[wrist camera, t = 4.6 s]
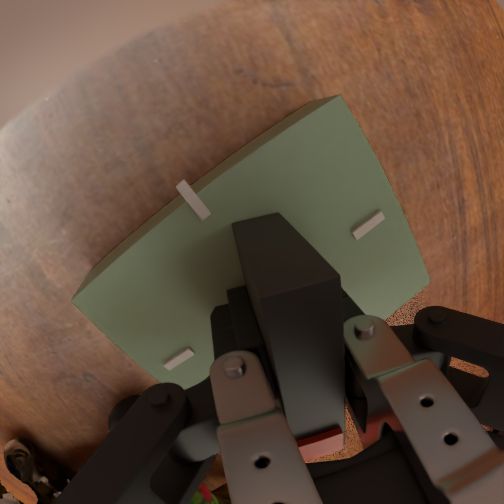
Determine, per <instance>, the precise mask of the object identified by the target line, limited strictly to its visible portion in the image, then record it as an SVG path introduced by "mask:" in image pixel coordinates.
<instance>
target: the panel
mask: <svg viewBox="0 0 504 504" xmlns="http://www.w3.org/2000/svg"><path fill="white" fill-rule="evenodd" d="M175 187H176V189H177V190H178V191H179V192H180V194H179V195H178V196H177V197H176V198H174V199H173V200H172V201H170V202H169V203H168V204H167V205H166V206H164V207H163V208H162V209H161V210H159V211H158V212H157V213H156V214H154V215H153V216H152V217H151V218H150V219H148V220H147V221H146V222H145V223H144V224H142V225H141V226H140V227H139V228H138V229H137V230H135V231H134V232H133V233H132V234H131V235H129V236H128V237H127V238H126V239H125V240H124V241H123V242H121V243H120V244H119V245H118V246H117V247H116V248H115V249H113V250H112V251H111V252H110V253H109V254H108V255H107V256H106V257H104V258H103V259H102V260H101V261H100V262H99V263H98V264H97V265H96V266H95V267H93V268H92V270H91V271H90V272H89V274H88V275H87V277H86V278H85V280H84V281H83V283H82V284H81V286H80V287H79V289H78V290H77V292H76V293H75V295H74V296H73V298H72V299H71V301H72V302H73V304H74V305H75V306H76V307H77V308H78V309H79V310H80V311H81V312H82V313H83V314H84V315H85V316H86V317H87V318H88V319H89V320H90V321H91V322H92V323H93V324H94V325H95V326H96V327H97V328H99V329H100V330H101V331H102V332H103V333H104V334H105V335H106V336H107V337H108V338H109V339H110V340H111V341H112V342H113V343H115V344H116V345H117V346H118V347H119V348H120V349H121V350H122V351H123V352H125V353H126V354H127V355H128V356H129V357H130V358H131V359H133V360H134V361H135V362H136V363H137V364H138V365H140V366H141V367H142V368H143V369H144V370H145V371H147V372H148V373H149V374H150V375H152V376H153V377H154V378H155V379H156V380H158V381H159V382H160V383H165V382H171V383H175V384H178V385H180V386H181V387H182V388H183V389H184V390H185V389H188V388H190V387H192V386H194V385H196V384H198V383H200V382H202V381H203V380H205V379H206V378H207V377H208V376H209V375H210V374H209V370H210V367H211V365H212V363H213V362H214V351H213V342H212V331H211V321H210V315H211V313H212V311H213V309H214V308H215V306H219V305H223V304H228V303H229V302H228V297H227V292H226V290H228V289H232V288H236V287H240V286H244V285H245V281H244V277H243V272H242V268H241V264H240V259H239V255H238V251H237V246H236V242H235V237H234V233H233V229H232V223H234V222H238V221H242V220H247V219H251V218H255V217H259V216H264V215H268V214H272V213H277V212H279V213H280V214H281V215H282V216H283V217H284V218H285V219H286V220H287V221H288V222H289V223H290V224H291V225H292V226H293V227H294V228H295V229H296V230H297V231H298V232H299V233H300V234H301V235H302V236H303V237H304V238H305V239H306V240H307V241H308V242H309V243H310V244H311V245H312V246H313V247H314V248H315V249H316V250H317V251H318V252H319V253H320V255H321V256H322V257H323V258H324V259H325V260H326V261H327V262H328V263H329V264H330V265H331V266H332V267H333V268H334V269H335V270H336V271H337V272H338V273H339V274H340V276H341V287H342V288H343V289H344V291H346V293H347V294H348V295H349V297H351V298H352V299H353V301H354V302H355V303H356V304H357V305H358V306H359V308H360V309H361V310H362V311H363V312H364V313H365V314H366V315H373V316H377V317H379V318H382V319H383V320H385V319H387V318H388V317H389V316H390V315H392V314H393V313H394V312H395V311H397V310H398V309H399V308H400V307H402V306H403V305H404V304H405V303H407V302H408V301H409V300H410V299H411V298H413V297H414V296H415V295H416V294H417V293H419V292H420V291H421V290H422V289H423V288H424V287H426V286H427V285H428V284H429V283H430V282H431V280H430V277H429V274H428V272H427V269H426V266H425V264H424V261H423V258H422V256H421V253H420V251H419V248H418V245H417V243H416V241H415V238H414V236H413V233H412V231H411V228H410V226H409V224H408V221H407V219H406V217H405V215H404V212H403V210H402V208H401V206H400V204H399V201H398V199H397V197H396V195H395V193H394V191H393V189H392V187H391V184H390V182H389V180H388V178H387V176H386V174H385V172H384V170H383V168H382V166H381V164H380V163H379V161H378V159H377V157H376V155H375V153H374V151H373V149H372V147H371V146H370V144H369V142H368V140H367V138H366V137H365V135H364V133H363V131H362V129H361V128H360V126H359V124H358V123H357V121H356V119H355V117H354V116H353V114H352V112H351V111H350V109H349V107H348V106H347V104H346V102H345V101H344V99H343V98H342V96H341V95H340V94H339V95H335V96H331V97H327V98H323V99H319V100H315V101H311V102H309V103H307V104H306V105H304V106H303V107H301V108H300V109H298V110H297V111H295V112H293V113H292V114H290V115H289V116H287V117H286V118H284V119H283V120H281V121H280V122H278V123H277V124H275V125H274V126H272V127H271V128H269V129H268V130H266V131H265V132H264V133H262V134H261V135H259V136H258V137H256V138H255V139H253V140H252V141H251V142H249V143H248V144H246V145H245V146H243V147H242V148H241V149H239V150H238V151H236V152H235V153H234V154H232V155H231V156H229V157H228V158H227V159H225V160H224V161H223V162H221V163H220V164H219V165H217V166H216V167H215V168H213V169H212V170H211V171H209V172H208V173H207V174H205V175H204V176H203V177H201V178H200V179H199V180H197V181H196V182H195V183H193V184H192V185H191V186H189V184H188V183H187V182H186V181H185V179H184V180H183V181H181V182H180V183H179V184H177V185H176V186H175Z"/></svg>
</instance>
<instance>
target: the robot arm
mask: <svg viewBox="0 0 504 504" xmlns="http://www.w3.org/2000/svg"><path fill="white" fill-rule="evenodd" d="M341 289H342V304H343V323H344V347H345V404H346V406H347V408H348V411H349V413H350V415H351V418H352V420H353V422H354V424H355V427H356V429H357V431H358V434H359V436H360V438H361V441H362V445H363V451H361V452H360V453H358V454H357V455H355V456H353V457H351V458H348V459H342V460H334V461H325V462H316V463H305V462H304V459H303V457H302V455H301V452H300V450H299V448H298V445H297V443H296V441H295V438H294V436H293V434H292V431H291V429H290V427H289V424H288V422H287V420H286V417H285V415H284V413H283V411H282V409H281V408H279V407H278V405H277V402H276V400H277V395H276V390H275V386H274V382H273V377H272V373H271V369H270V364H269V360H268V355H267V351H266V347H265V343H264V340H263V337H262V333H261V330H260V327H259V324H258V321H257V318H256V315H255V312H254V309H253V306H252V303H251V300H250V297H249V294H248V291H247V287H246V285H244V286H240V287H236V288H232V289H228V290H226V292H227V297H228V302H229V303H228V304H223V305H219V306H215V308H214V309H213V311H212V313H211V315H210V321H211V331H212V342H213V351H214V362H213V363H212V365H211V367H210V370H209V374H210V375H209V376H208V377H207V378H206V379H205V380H203V381H202V382H200V383H198V384H196V385H194V386H192V387H190V388H188V389H185V390H184V389H183V388H182V387H181V386H180V385H178V384H175V383H171V382H165V383H159V384H156V385H153V386H151V387H149V388H148V389H146V390H145V391H144V392H143V393H142V394H141V395H140V396H139V398H138V399H137V400H136V401H135V402H134V404H133V405H132V406H131V407H130V409H129V410H128V411H127V412H126V414H125V415H124V416H123V417H122V418H121V420H120V421H119V422H118V423H117V425H116V426H115V427H114V428H113V429H112V431H111V432H110V433H109V434H108V436H107V437H106V438H105V439H104V441H103V442H102V443H101V444H100V445H99V447H98V448H97V449H96V450H95V452H94V453H93V454H92V455H91V456H90V458H89V459H88V460H87V461H86V463H85V464H84V465H83V466H82V467H81V469H80V470H79V471H78V472H77V474H76V475H75V476H74V477H73V478H72V480H71V481H70V482H69V483H68V485H67V486H66V487H65V488H64V489H63V491H62V492H61V493H60V494H59V495H58V497H57V498H56V499H55V500H54V502H53V503H52V504H189V503H190V501H191V500H192V498H193V496H194V494H195V493H196V491H197V489H198V488H199V486H200V484H201V482H202V481H203V479H204V477H205V475H206V474H207V472H208V470H209V468H210V466H211V465H212V463H213V461H214V459H215V455H216V454H217V453H219V452H220V454H221V458H222V463H223V468H224V472H225V477H226V482H227V486H228V490H229V495H230V499H231V503H232V504H504V435H501V434H497V433H493V432H489V431H485V429H484V428H483V426H482V425H481V424H483V425H485V426H488V427H491V428H494V429H496V430H499V431H502V432H504V324H501V323H498V322H494V321H491V320H487V319H484V318H480V317H477V316H473V315H470V314H467V313H463V312H460V311H456V310H453V309H449V308H446V307H442V306H430V307H426V308H423V309H421V310H420V311H418V312H417V313H416V315H415V318H414V324H408V325H401V326H389V325H388V324H387V323H386V322H385V321H384V320H383V319H382V318H379V317H377V316H373V315H366V314H365V313H364V312H363V311H362V310H361V309H360V308H359V306H358V305H357V304H356V303H355V302H354V301H353V299H352V298H351V297H349V295H348V294H347V293H346V291H344V289H343V288H342V287H341ZM451 357H454V358H457V359H460V360H463V361H466V362H469V363H472V364H475V365H478V366H481V367H483V368H485V369H486V370H487V371H488V373H489V377H486V378H483V377H479V376H476V375H473V374H470V373H467V372H465V371H462V370H459V369H456V368H453V367H450V366H449V365H450V361H451Z"/></svg>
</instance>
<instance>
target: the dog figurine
mask: <svg viewBox="0 0 504 504" xmlns="http://www.w3.org/2000/svg"><path fill="white" fill-rule="evenodd" d="M139 396H140V395H132V396H129V397H127V398H125V399H123V400H122V401H121V402H119V403H118V404H117V405H116V406H115V407H114V408H113V410H112V412H111V414H110V416H109V421H108V423H109V430H110V432H111V431H112V429H113V428H114V427H115V426H116V425H117V423H118V422H119V421H120V420H121V418H122V417H123V416H124V415H125V414H126V412H127V411H128V410H129V409H130V407H131V406H132V405H133V404H134V402H135V401H136V400H137V399H138V398H139ZM4 461H5V464H6V467H7V468H8V470H9V471H10V473H11V474H13V475H14V476H15V477H16V478H17V479H19V480H21V481H22V482H23V483H26V484H27V485H29V487H31V489H32V490H33V491H34V492H35V493H36V495H37V498H38V503H37V504H52V503H53V502H54V500H55V499H56V498H57V497H58V495H59V494H60V493H61V492H62V491H63V489H64V488H65V487H66V486H67V485H68V483H69V482H70V481H71V480H72V478H73V477H74V476H75V475H76V474H74V473H72V472H70V471H68V470H66V469H64V468H62V467H59V466H57V465H55V464H53V463H50V462H47V461H44V460H42V459H39V458H37V457H35V456H34V448H33V446H32V445H31V444H30V443H29V442H28V441H27V440H26V439H21V438H19V439H17V438H16V439H12V440H10V441H9V442H7V444H6V445H5V449H4ZM0 481H1V480H0ZM0 504H24V503H22V502H21V501H20V500H17V499H15V498H14V496H13V492H11V493H10V492H7V491H6V488H5V487H4V486H2V485H1V483H0ZM189 504H232V503H231V499H230V495H229V490H228V486H227V483H226V484H224V485H222V486H220V487H219V488H217V489H215V490H214V491H212V492H211V491H210V490H209V489H208V488H207V486H206V485H205V484H204V483H203V481H202V482H201V484H200V486H199V488H198V489H197V491H196V493H195V494H194V496H193V498H192V500H191V501H190V503H189Z"/></svg>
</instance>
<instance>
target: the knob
mask: <svg viewBox="0 0 504 504" xmlns="http://www.w3.org/2000/svg"><path fill="white" fill-rule="evenodd" d="M232 229H233V233H234V237H235V242H236V246H237V251H238V255H239V259H240V264H241V268H242V272H243V277H244V281H245V285H246V287H247V291H248V294H249V297H250V300H251V303H252V306H253V309H254V312H255V315H256V318H257V321H258V324H259V327H260V330H261V333H262V337H263V340H264V343H265V347H266V351H267V355H268V360H269V364H270V369H271V373H272V377H273V382H274V386H275V390H276V395H277V400H276V402H277V405H278V407H279V408H281V409H282V411H283V413H284V415H285V417H286V420H287V422H288V424H289V427H290V429H291V431H292V434H293V436H294V438H295V441H296V443H297V445H298V448H299V450H300V452H301V455H302V457H303V459H304V462H306V461H309V460H313V459H316V458H319V457H322V456H325V455H328V454H331V453H334V452H337V451H340V450H343V445H345V347H344V323H343V304H342V289H341V276H340V274H339V273H338V272H337V271H336V270H335V269H334V268H333V267H332V266H331V265H330V264H329V263H328V262H327V261H326V260H325V259H324V258H323V257H322V256H321V255H320V253H319V252H318V251H317V250H316V249H315V248H314V247H313V246H312V245H311V244H310V243H309V242H308V241H307V240H306V239H305V238H304V237H303V236H302V235H301V234H300V233H299V232H298V231H297V230H296V229H295V228H294V227H293V226H292V225H291V224H290V223H289V222H288V221H287V220H286V219H285V218H284V217H283V216H282V215H281V214H280V213H279V212H277V213H272V214H268V215H264V216H259V217H255V218H251V219H247V220H242V221H238V222H234V223H232Z"/></svg>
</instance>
